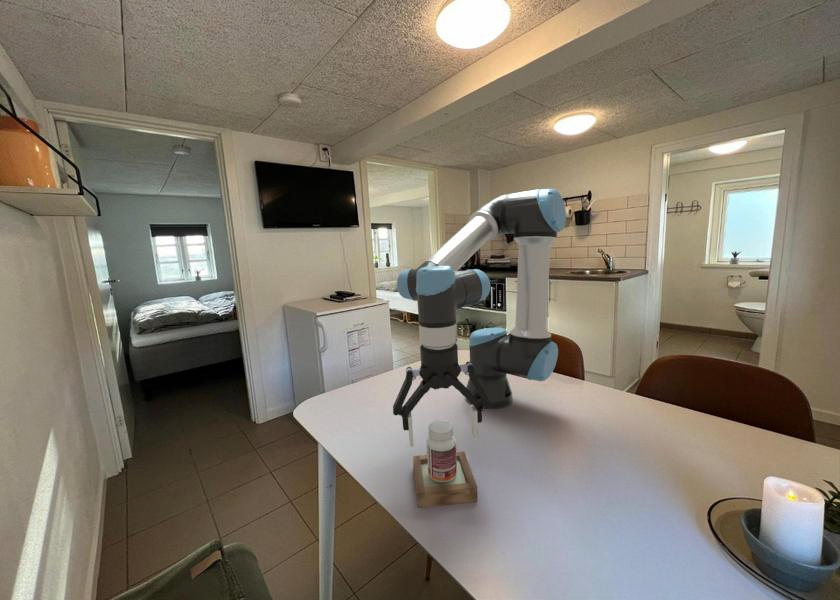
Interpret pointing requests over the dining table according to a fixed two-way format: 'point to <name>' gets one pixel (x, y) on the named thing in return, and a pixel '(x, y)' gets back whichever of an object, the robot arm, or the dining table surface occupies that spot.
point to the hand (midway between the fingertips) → (443, 439)
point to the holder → (444, 484)
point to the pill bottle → (441, 452)
